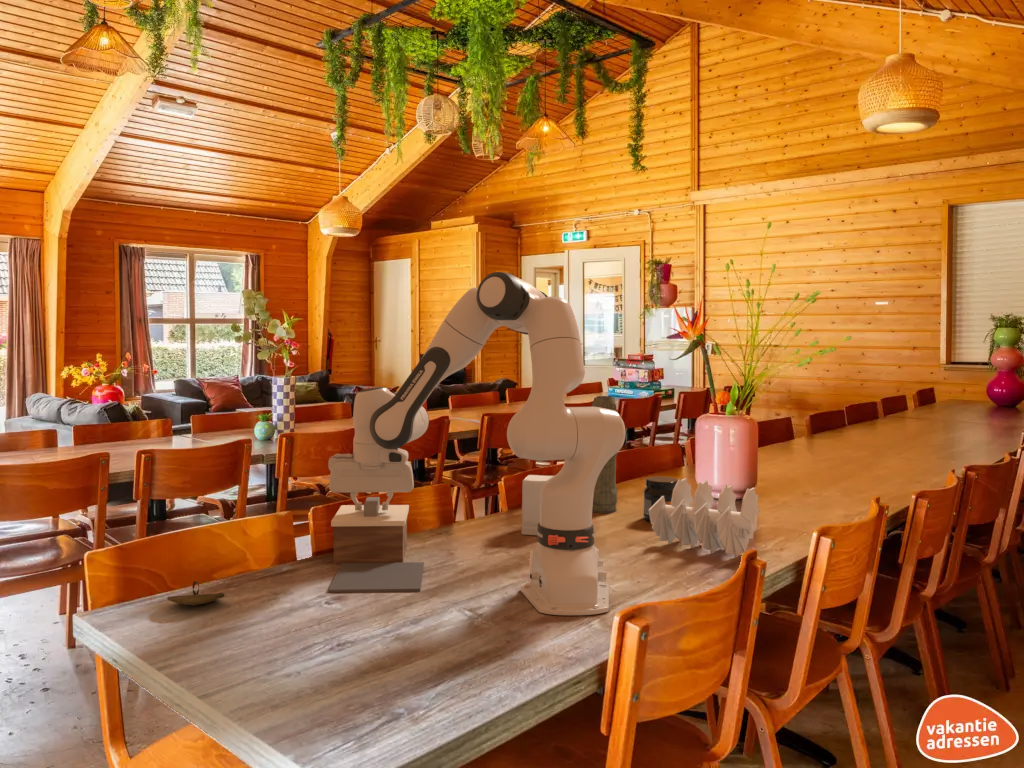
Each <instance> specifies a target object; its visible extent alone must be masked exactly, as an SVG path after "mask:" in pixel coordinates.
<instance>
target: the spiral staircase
mask: <svg viewBox="0 0 1024 768" xmlns="http://www.w3.org/2000/svg"><path fill="white" fill-rule="evenodd" d="M708 483H709V481H708V480H707V479H705V480H704V481H702V482H699V483H698V485H697V487H696V489H695V492H694V494H693V495H694V496H692V494H691V492H692V485H691V484H690V483H688V478H687V477H684V478H683V479H680V478H678V481H677V483H676V485H675V487H674V489H673V493H672V499H671V505H665V499H664V496H662V497H661V498H660V499H659V500H658V501H657V502H656V503H655V504H654V505H653V506H652V507H651V508H650V509H649V516H650V521H651V522H650V521H649V522H650V524H651V529H652V530H653V532H654V534H655V535H656V536H657V537H658V541H660V542H661V541H663V542H668V545H671V544H672V543H673V542H674V540H676V539H677V540H678V541H680V546H690V548H691V549H693V548H694V547H695V546H696V544H697V542H699V544H701V548H702V549H704V550H707V551H710V554H714V553H715V552H716V551H717V550H718V549H719V550H720V551H722V550H723V549H725V554H729V555H730V554H731V555H734V558H735V557H736V558H735V559H737V558H738V556H740V554H742V552H743V553H745V552H744V551H747V549H748V546H749V542H750V540H754V533H755V532H756V531H758V516H759V513H760V509H759V505H758V503H759V495H758V494H757V493H756V489H755V488H756V487H751V488H746V490H745V493H744V495H743V497H742V500H741V501H742V502H741V506H740V507H741V508H740V511H737V506H736V499H737V494H736V493H735V492H734V491H733V489H734V488H733V485H729V486H728V485H727V484H724V485H723V487H722V489H721V491H720V493H719V495H718V500H717V506H716V509H713V505H714V502H715V499H714V497H713V494H712V492H713V486H712V485H710V484H708Z"/></svg>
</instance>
